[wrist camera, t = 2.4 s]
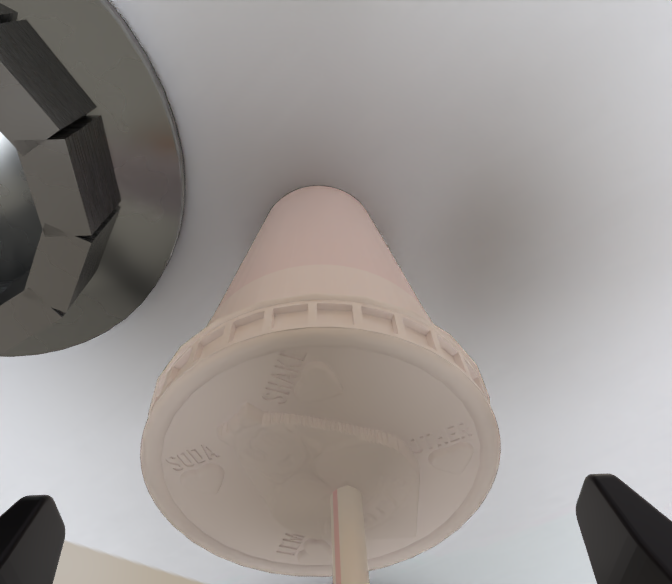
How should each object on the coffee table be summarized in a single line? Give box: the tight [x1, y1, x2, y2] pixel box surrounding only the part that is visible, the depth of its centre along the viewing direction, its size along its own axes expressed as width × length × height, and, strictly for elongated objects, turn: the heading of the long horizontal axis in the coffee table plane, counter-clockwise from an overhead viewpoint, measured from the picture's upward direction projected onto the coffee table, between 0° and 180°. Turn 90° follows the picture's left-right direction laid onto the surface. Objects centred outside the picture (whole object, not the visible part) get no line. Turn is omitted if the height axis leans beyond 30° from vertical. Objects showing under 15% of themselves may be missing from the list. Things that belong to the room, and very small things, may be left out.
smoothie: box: [140, 186, 501, 584], centre depth 12 cm, size 6×6×14 cm
